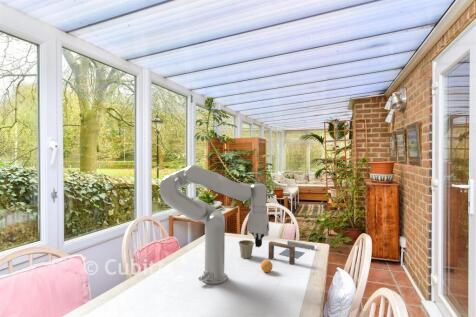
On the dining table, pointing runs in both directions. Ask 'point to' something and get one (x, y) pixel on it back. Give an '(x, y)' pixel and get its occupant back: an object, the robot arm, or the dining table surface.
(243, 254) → the flower pot
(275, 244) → the bridge
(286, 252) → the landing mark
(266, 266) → the ball
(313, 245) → the stopper
